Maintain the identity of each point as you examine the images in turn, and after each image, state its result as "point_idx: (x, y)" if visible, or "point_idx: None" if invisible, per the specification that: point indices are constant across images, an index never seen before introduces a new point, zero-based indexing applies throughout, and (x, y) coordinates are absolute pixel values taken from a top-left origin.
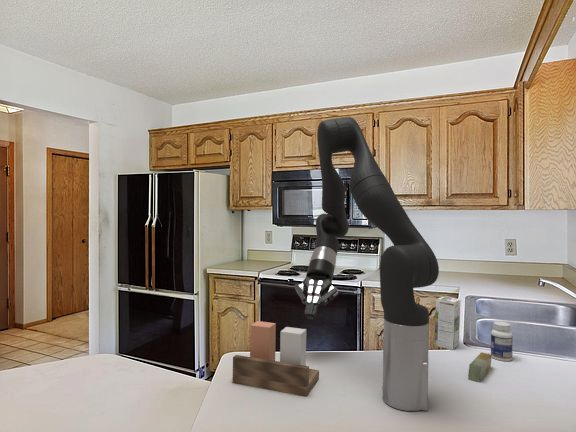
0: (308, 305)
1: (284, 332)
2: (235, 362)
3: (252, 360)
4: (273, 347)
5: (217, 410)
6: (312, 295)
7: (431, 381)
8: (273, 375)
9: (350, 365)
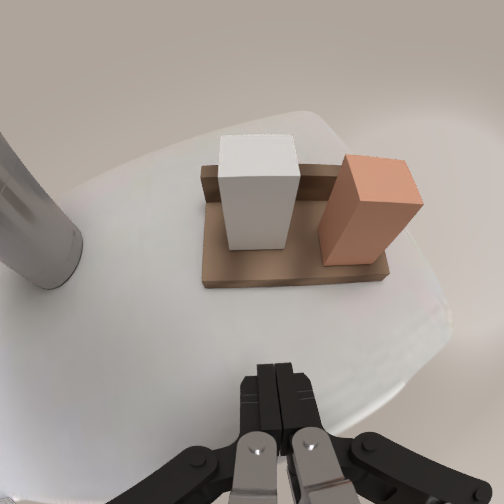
0: (299, 410)
1: (278, 135)
2: None
3: (335, 166)
4: (334, 229)
5: (318, 133)
6: (303, 498)
7: (14, 348)
8: None
9: (147, 399)
